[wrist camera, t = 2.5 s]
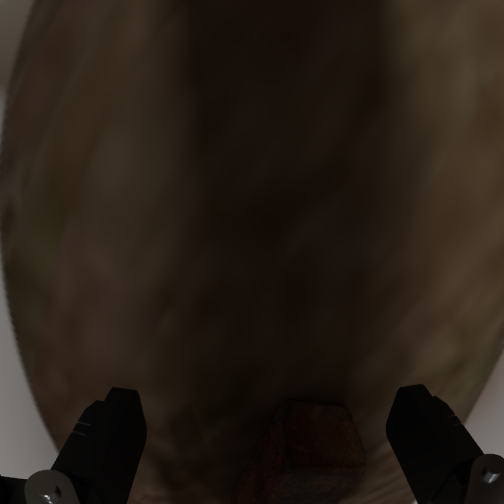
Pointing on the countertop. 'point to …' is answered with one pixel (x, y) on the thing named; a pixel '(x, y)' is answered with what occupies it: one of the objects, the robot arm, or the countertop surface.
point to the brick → (304, 457)
